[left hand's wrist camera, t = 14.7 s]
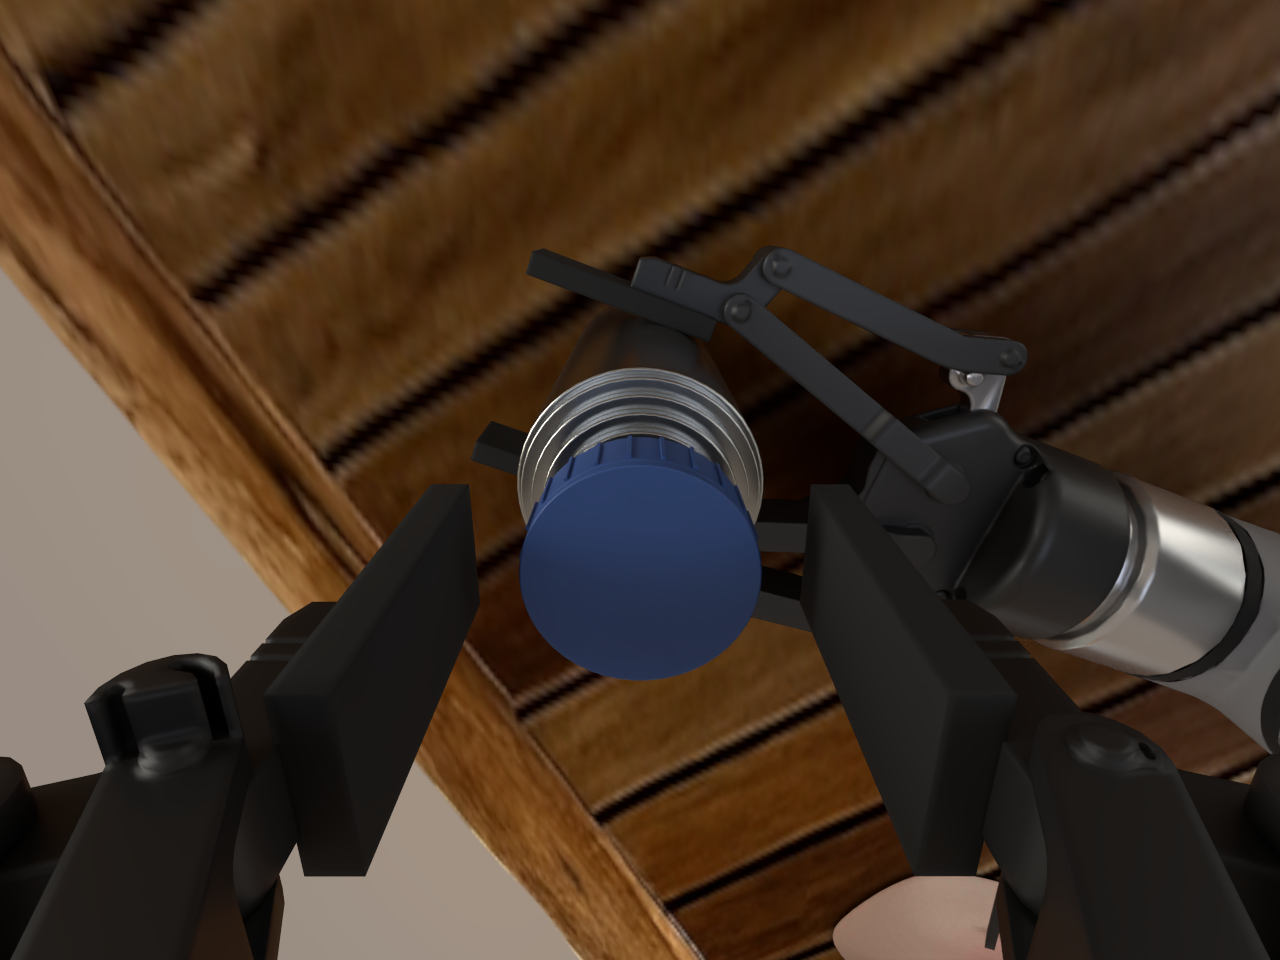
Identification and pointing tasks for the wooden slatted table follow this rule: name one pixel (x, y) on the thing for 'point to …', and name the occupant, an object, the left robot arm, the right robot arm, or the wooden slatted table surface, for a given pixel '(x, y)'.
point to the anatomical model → (922, 921)
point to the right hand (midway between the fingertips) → (508, 354)
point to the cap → (640, 560)
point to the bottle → (639, 405)
